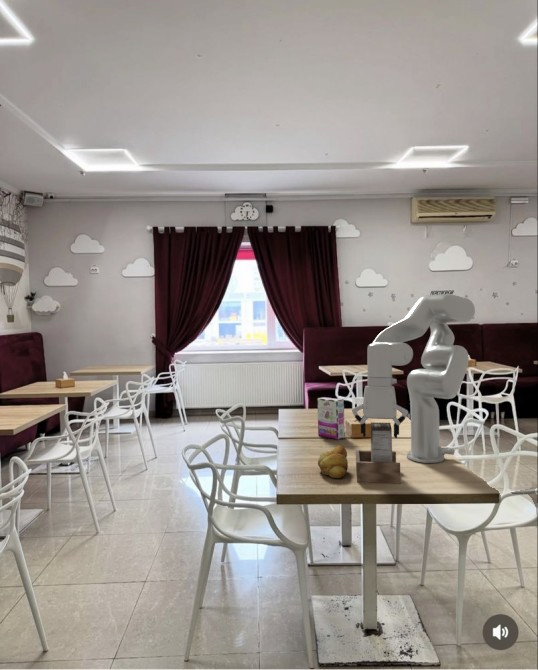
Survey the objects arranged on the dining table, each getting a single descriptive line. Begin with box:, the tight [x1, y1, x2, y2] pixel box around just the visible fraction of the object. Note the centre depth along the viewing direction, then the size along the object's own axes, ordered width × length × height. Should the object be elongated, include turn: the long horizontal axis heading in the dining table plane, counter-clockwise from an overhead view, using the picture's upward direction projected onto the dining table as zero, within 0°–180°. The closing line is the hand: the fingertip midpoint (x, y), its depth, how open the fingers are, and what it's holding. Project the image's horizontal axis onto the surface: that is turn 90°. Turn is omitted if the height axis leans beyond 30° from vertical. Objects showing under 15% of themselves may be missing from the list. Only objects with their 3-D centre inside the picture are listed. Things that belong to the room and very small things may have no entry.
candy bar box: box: [317, 396, 346, 440], centre depth 190 cm, size 11×5×16 cm, turn 42°
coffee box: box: [370, 422, 393, 462], centre depth 141 cm, size 9×6×16 cm
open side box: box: [355, 449, 401, 484], centre depth 141 cm, size 13×13×6 cm
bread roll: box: [317, 445, 349, 479], centre depth 144 cm, size 13×10×8 cm
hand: (379, 436), depth 140 cm, fingers open, 9 cm apart
